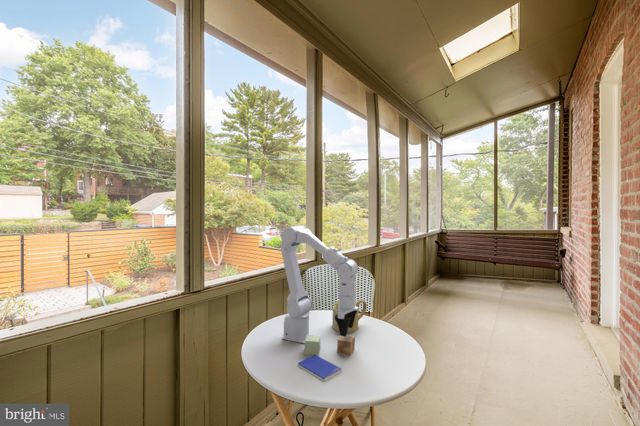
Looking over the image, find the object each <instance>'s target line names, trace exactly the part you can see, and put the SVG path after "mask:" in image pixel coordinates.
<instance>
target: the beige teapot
mask: <svg viewBox="0 0 640 426" xmlns="http://www.w3.org/2000/svg"><path fill="white" fill-rule="evenodd" d="M361 303H363V306H362V310H361V312H359V309H360V307H359V306H360V304H361ZM355 306H356V307H358V311H357V313H356V316H355V319H354V324H353V327H352V328H348V331H347V333H353V332H356V331H357V330H358V329H359V320H360V319H361V318H362V317H363V316H364V315H365V313H366V311H367V302H366V301H365V300H364V299H358V300H357V302H355ZM338 307H339V299H338V300H336V302H335V304H334V305H333V306H332V328H333V329H334V330H335V331H337V332H339V327H338V324H337V322H336V320H335V315H336V314H337V315H338V312H339V308H338Z"/></svg>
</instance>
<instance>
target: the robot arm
mask: <svg viewBox="0 0 640 426" xmlns="http://www.w3.org/2000/svg"><path fill="white" fill-rule="evenodd" d="M280 239H281V244H280V252H281V257H282V261H283V265H284V271H285V275H286V280H287V283H288V284H287V285H288V289H289V294H288V296H287V298H286V303H287V305H286V312H287V314H286V315H285V316H284V319H283V337H282V340H286V341H290V342H296V343H300V344H301V343H302V344H305V339H306V336H307V335H313V334H312V333H310V331H309V330H310V311H311V310H312V308H313V300H312V299H311V298H310V296H309V293H308V291H307V290H305V289H304V285H303V280H302V275H301V270H300V266H299V262H298V258H297V257H298V256H297V252H296V250H297V248H298V247H299V246H300V244H307V245H308V246H310V247H311V248H312V249H314V250H315V251H316V252H318V253H319V254H321V255H322V259H323V261H324V262H326V264H328V265H329V266H330V267H331V268H332V269H334V270H336V274H337V275H338V278H339V279H338V280H339V281H338V282H339V283H338V284H339V287H338V289H339V293H338V294H339V295H338V298H339V299H338V300H339V307H338V308H339V312H338V315H337V314H336V315H335V320H336V322H337V324H338V327H339V331H338V333H339V337H340V336H346V335H348V332H347V331H348V328H352V327H353V324H354V319H355V316H356V313H357V311H358V310H359V308H358V307H356V275H357V273H358V271H359V265H358V264H357V262H356V261H355V260H354V259H352V258H350V259H349V257H347V256H345V255H343V254H342V253H341V252H340V251H339V249H338V248H336V247H332V246H331V247H328V246H327V245H326V244H325V243H324V242H323V241H321V240H320V239H319V238H318V237H317V236H316V235H314V234H313V233H312V231H311V229H309V228H308V227H307V226H305V225H302V224H300V225H296V226H295V225H294V226H287V227H284V229H283V230H282V232H281V233H280Z"/></svg>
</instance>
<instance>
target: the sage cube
mask: <svg viewBox="0 0 640 426" xmlns="http://www.w3.org/2000/svg"><path fill="white" fill-rule="evenodd" d="M320 351H321V335H319V334H318V335H317V334H316V335H315V334H312V335H307V336H306V339H305V343H304V355H306V356H313V355H317V356H318V355H320Z"/></svg>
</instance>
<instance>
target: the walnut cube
mask: <svg viewBox="0 0 640 426" xmlns="http://www.w3.org/2000/svg"><path fill="white" fill-rule="evenodd" d="M336 340H337V342H336V343H337V345H336V346H337V349H336V353H337V354H339V353H340V355H344V354H345V356H351V357H352V354H353V353H354V351H355V350H356V349H355V347H356V345H355V343H356V342H355V341H356V337H355V336H353V335H349V334H347V335H346V336H340V335H339V337H338V338H337V339H336Z"/></svg>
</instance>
